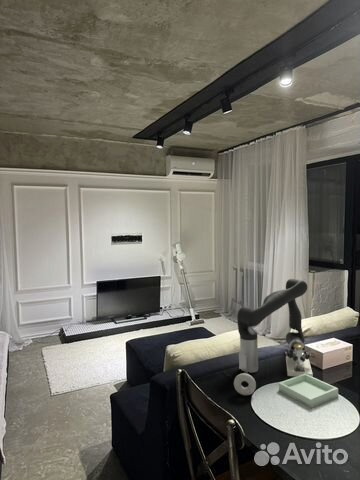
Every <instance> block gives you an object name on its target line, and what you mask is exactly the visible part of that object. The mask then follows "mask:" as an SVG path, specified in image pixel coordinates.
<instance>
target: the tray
mask: <svg viewBox="0 0 360 480" xmlns="http://www.w3.org/2000/svg"><path fill="white" fill-rule="evenodd" d="M278 391H280V392H281V393H283V394H285V395H287V396H289V397H290V398H292V399H294V400H296V401H298V402H299V403H301V404H303V405H304V406H307V407H308V408H310V409H311V408H313V407H316V406H318V405H320V404H323V403H325V402H327V401H330V400H333V399H335V398H337V397H339V388H338V387H336V386H334V385H331V384H329V383H327V382H325V381H322V380H320V379H318V378H316V377H312V376H309V375H307V374H302V375H300V376H297V377H296V376H293V377H291V378H289V379H286V380H283V381H280V382H278Z"/></svg>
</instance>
